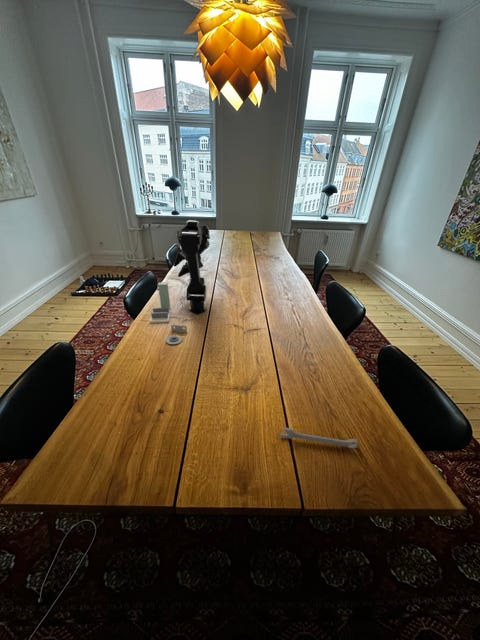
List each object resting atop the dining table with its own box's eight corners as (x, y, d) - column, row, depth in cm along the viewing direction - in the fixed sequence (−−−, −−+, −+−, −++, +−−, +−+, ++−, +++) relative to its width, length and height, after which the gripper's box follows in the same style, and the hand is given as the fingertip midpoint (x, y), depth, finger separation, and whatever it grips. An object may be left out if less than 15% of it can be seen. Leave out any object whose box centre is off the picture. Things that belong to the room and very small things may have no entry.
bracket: (163, 345, 101) (162, 337, 99) (172, 331, 109) (171, 324, 107) (179, 346, 100) (178, 339, 98) (187, 332, 109) (186, 325, 107)
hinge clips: (170, 311, 123) (170, 305, 121) (168, 322, 115) (167, 315, 113) (153, 312, 122) (152, 305, 120) (150, 323, 113) (149, 316, 112)
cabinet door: (170, 305, 128) (167, 282, 122) (169, 307, 126) (166, 284, 120) (159, 306, 128) (156, 282, 121) (159, 308, 125) (155, 284, 119)
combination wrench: (359, 437, 64) (280, 424, 66) (361, 442, 63) (280, 428, 65) (355, 446, 66) (278, 433, 68) (356, 451, 65) (278, 437, 67)
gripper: (213, 268, 127) (192, 289, 131) (202, 248, 139) (183, 268, 143) (198, 256, 119) (176, 279, 123) (187, 236, 130) (167, 258, 134)
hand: (176, 271), depth 131 cm, fingers open, 9 cm apart
